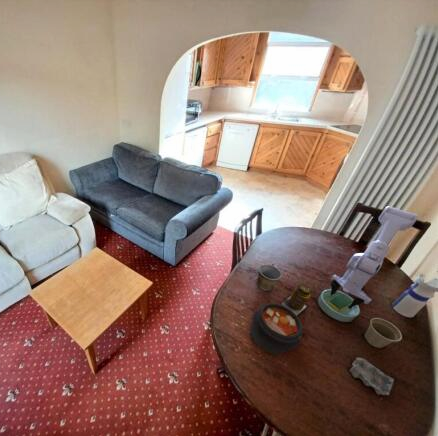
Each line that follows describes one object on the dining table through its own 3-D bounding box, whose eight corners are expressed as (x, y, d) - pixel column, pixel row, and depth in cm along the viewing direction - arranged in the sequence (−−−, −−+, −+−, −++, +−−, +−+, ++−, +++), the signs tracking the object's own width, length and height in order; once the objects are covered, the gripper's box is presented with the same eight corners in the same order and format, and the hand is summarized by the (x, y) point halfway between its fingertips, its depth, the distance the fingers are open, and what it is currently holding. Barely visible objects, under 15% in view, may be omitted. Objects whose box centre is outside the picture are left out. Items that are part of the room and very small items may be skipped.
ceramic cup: (272, 297, 113) (278, 283, 107) (251, 286, 118) (256, 273, 112) (278, 280, 122) (285, 266, 116) (258, 271, 127) (264, 257, 121)
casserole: (281, 369, 87) (289, 358, 82) (238, 331, 99) (242, 320, 94) (310, 329, 100) (318, 317, 95) (269, 299, 112) (274, 288, 107)
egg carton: (346, 372, 86) (352, 367, 84) (354, 359, 90) (359, 353, 88) (383, 400, 79) (390, 395, 77) (390, 384, 83) (396, 379, 81)
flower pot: (391, 357, 90) (405, 345, 85) (361, 345, 94) (372, 333, 89) (385, 336, 97) (398, 324, 92) (357, 325, 101) (368, 314, 96)
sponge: (335, 300, 110) (340, 294, 108) (345, 308, 107) (350, 302, 104) (326, 306, 108) (330, 300, 106) (336, 314, 105) (340, 308, 102)
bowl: (330, 291, 116) (334, 285, 113) (361, 315, 105) (367, 309, 102) (310, 301, 111) (314, 295, 108) (341, 327, 100) (346, 321, 98)
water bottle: (389, 298, 112) (423, 260, 98) (413, 307, 108) (453, 269, 94) (390, 310, 107) (428, 273, 92) (416, 320, 102) (459, 283, 88)
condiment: (306, 306, 109) (317, 290, 102) (296, 315, 105) (306, 299, 98) (291, 295, 114) (300, 279, 107) (281, 304, 110) (289, 287, 103)
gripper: (332, 271, 101) (319, 291, 109) (370, 297, 90) (352, 317, 98) (342, 266, 103) (329, 286, 111) (381, 290, 93) (363, 311, 100)
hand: (341, 300), depth 105 cm, fingers open, 7 cm apart
